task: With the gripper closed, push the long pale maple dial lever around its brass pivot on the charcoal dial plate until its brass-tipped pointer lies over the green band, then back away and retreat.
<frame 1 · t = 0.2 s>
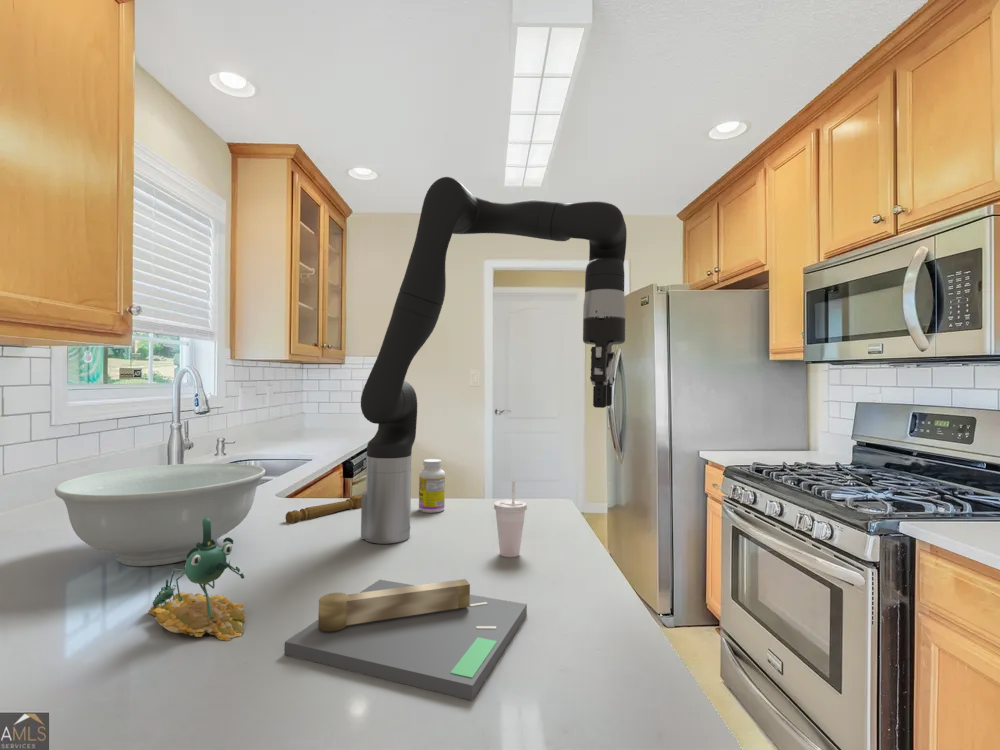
hand: (602, 406, 88), 29 cm above the counter, fingers open, 8 cm apart
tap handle: (343, 512, 124), on the counter
bowl: (168, 553, 91), on the counter
dial lever: (397, 602, 64), point 3 cm above the counter, hinge at 40.0°
supplement bottle: (431, 511, 126), on the counter
dial plate: (416, 633, 63), on the counter
smoothie: (509, 555, 93), on the counter
green cartoon bug figurine: (200, 621, 66), on the counter
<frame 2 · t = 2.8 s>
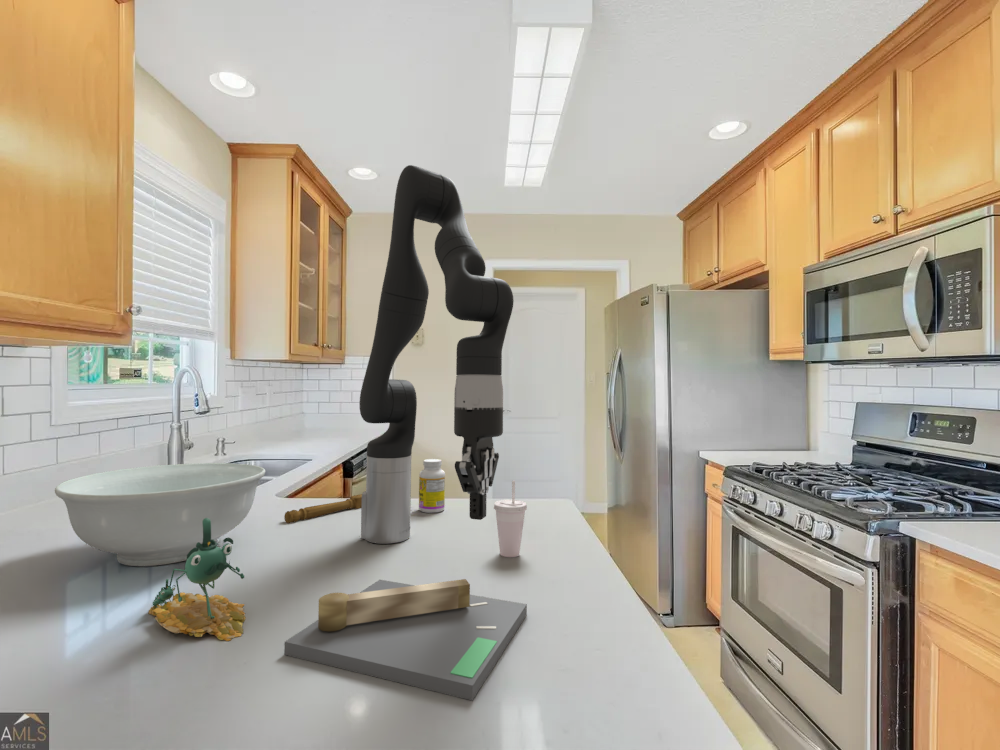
hand: (477, 518, 75), 12 cm above the counter, fingers closed
nothing on the counter moved.
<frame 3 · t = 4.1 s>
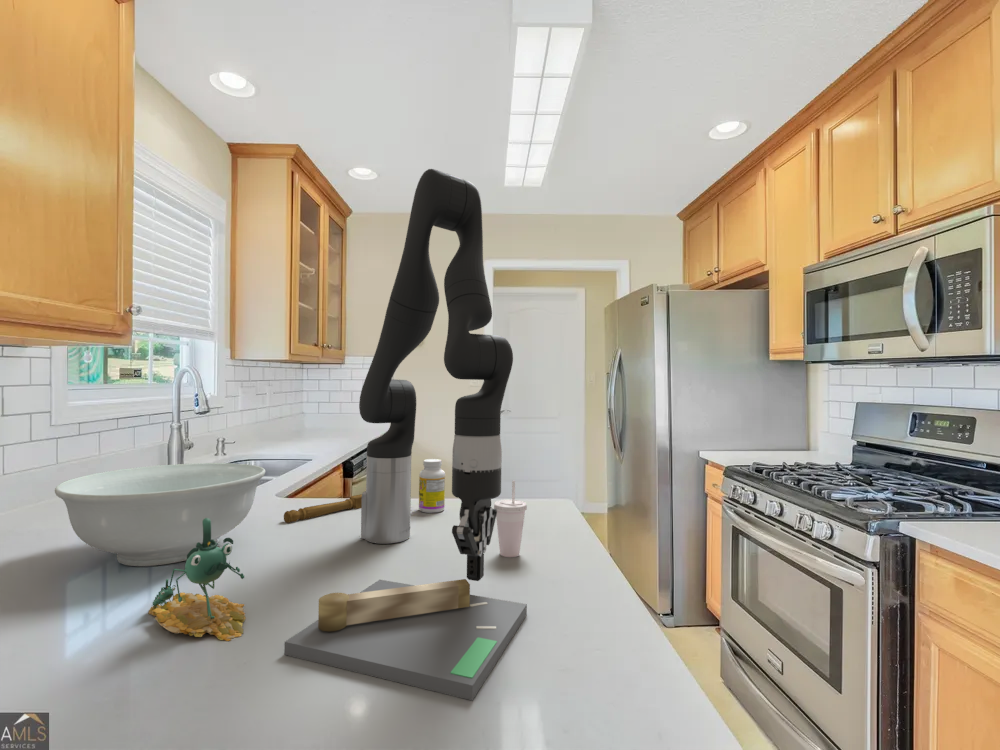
hand: (475, 578, 74), 3 cm above the counter, fingers closed
nothing on the counter moved.
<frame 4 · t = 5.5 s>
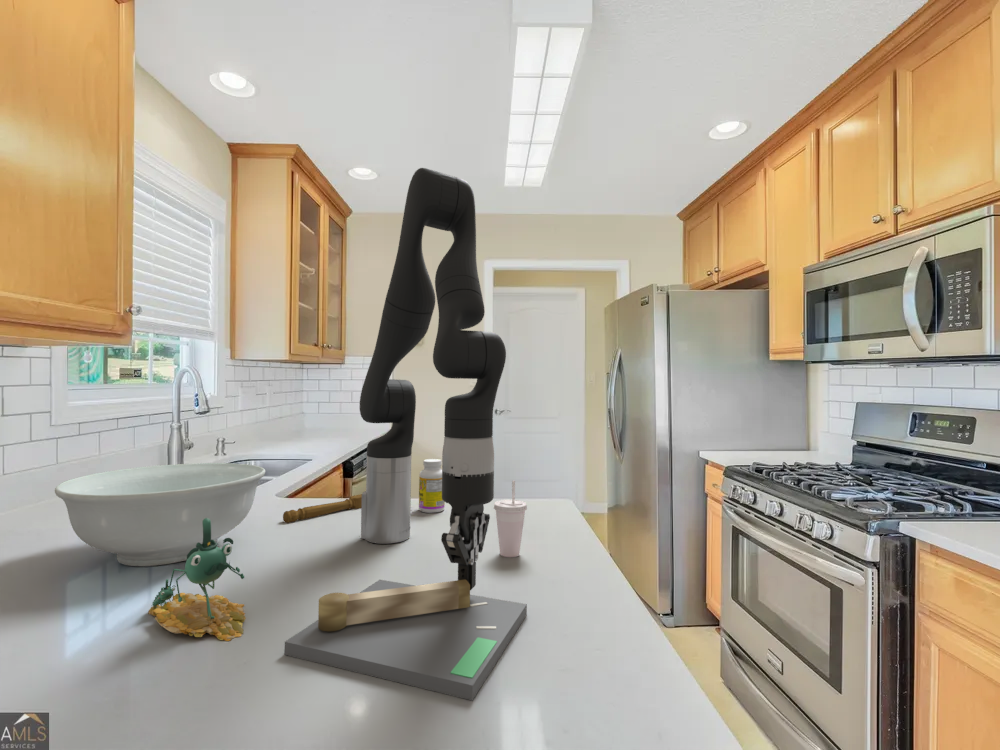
hand: (466, 588, 70), 3 cm above the counter, fingers closed
dial lever: (397, 602, 64), point 3 cm above the counter, hinge at 39.5°, touching gripper
everything else where it was.
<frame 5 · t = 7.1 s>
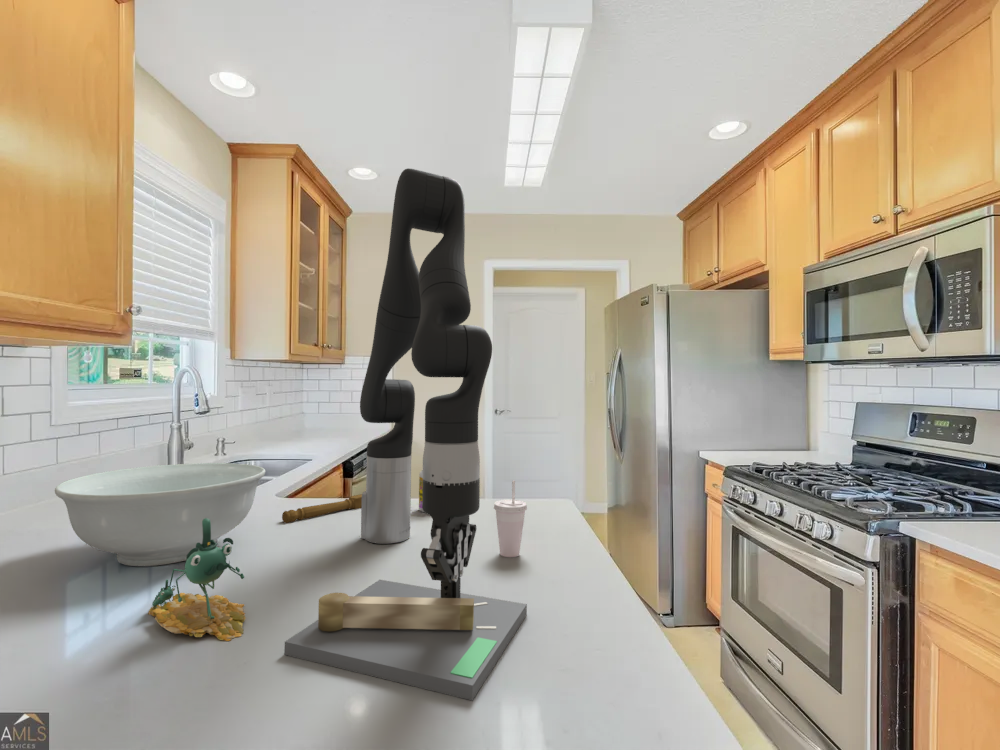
hand: (450, 606, 64), 3 cm above the counter, fingers closed
dial lever: (396, 612, 61), point 3 cm above the counter, hinge at 18.9°, touching gripper
everything else where it was.
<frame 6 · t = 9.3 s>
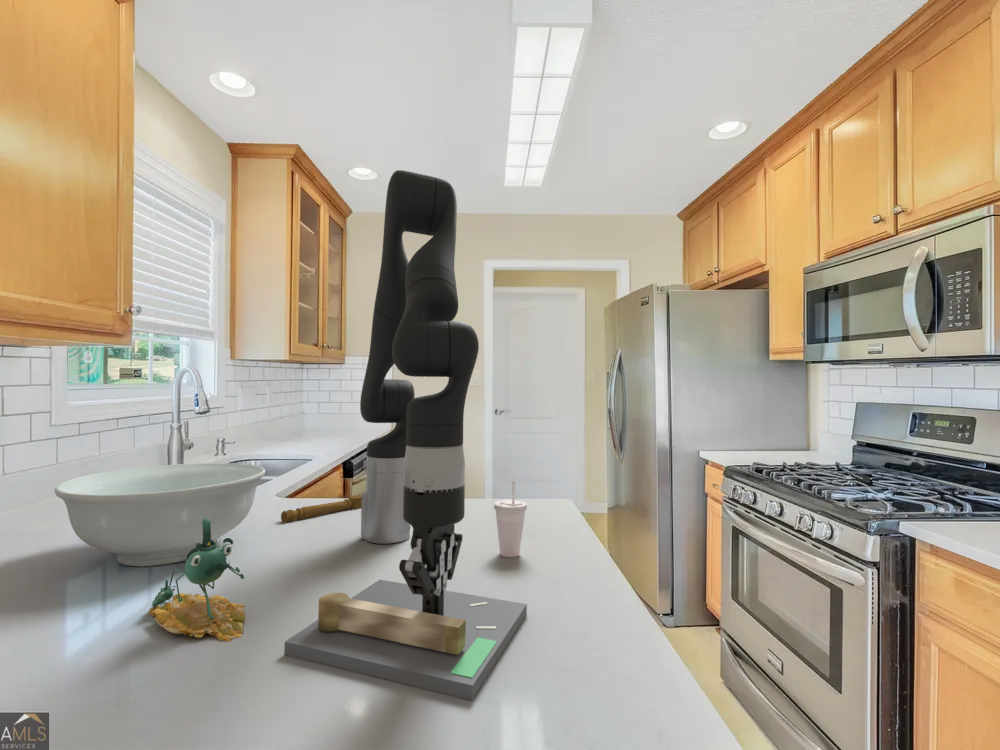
hand: (432, 622, 60), 3 cm above the counter, fingers closed
dial lever: (388, 622, 59), point 3 cm above the counter, hinge at -0.1°, touching gripper
everything else where it was.
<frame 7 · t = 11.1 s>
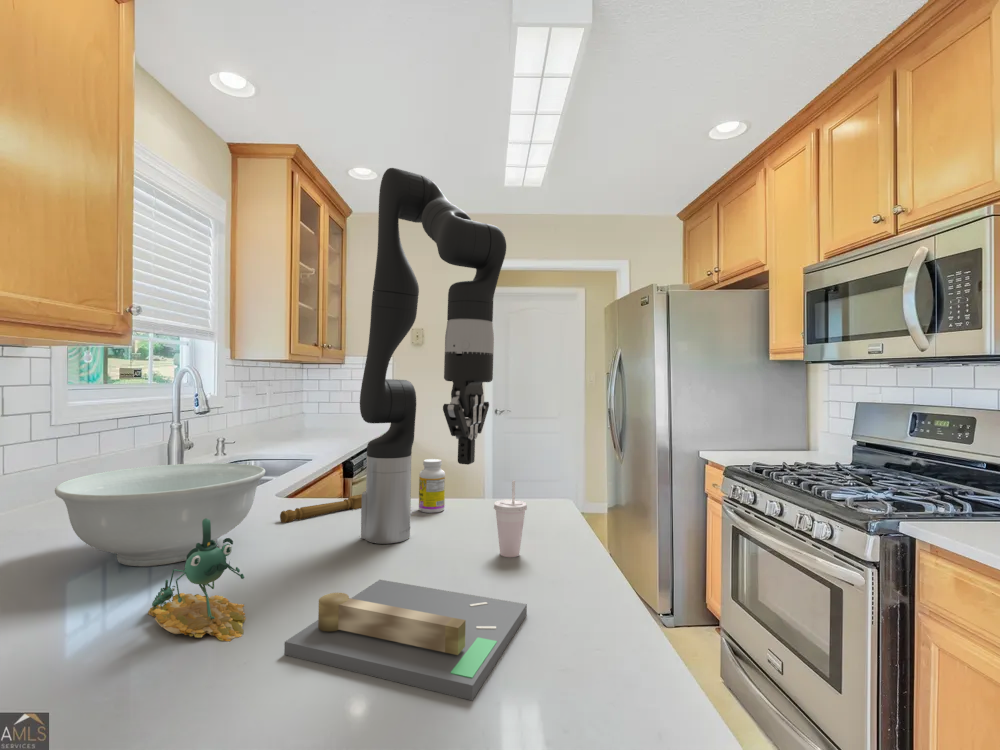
hand: (465, 463, 75), 20 cm above the counter, fingers closed
dial lever: (388, 622, 59), point 3 cm above the counter, hinge at -0.2°
everything else where it was.
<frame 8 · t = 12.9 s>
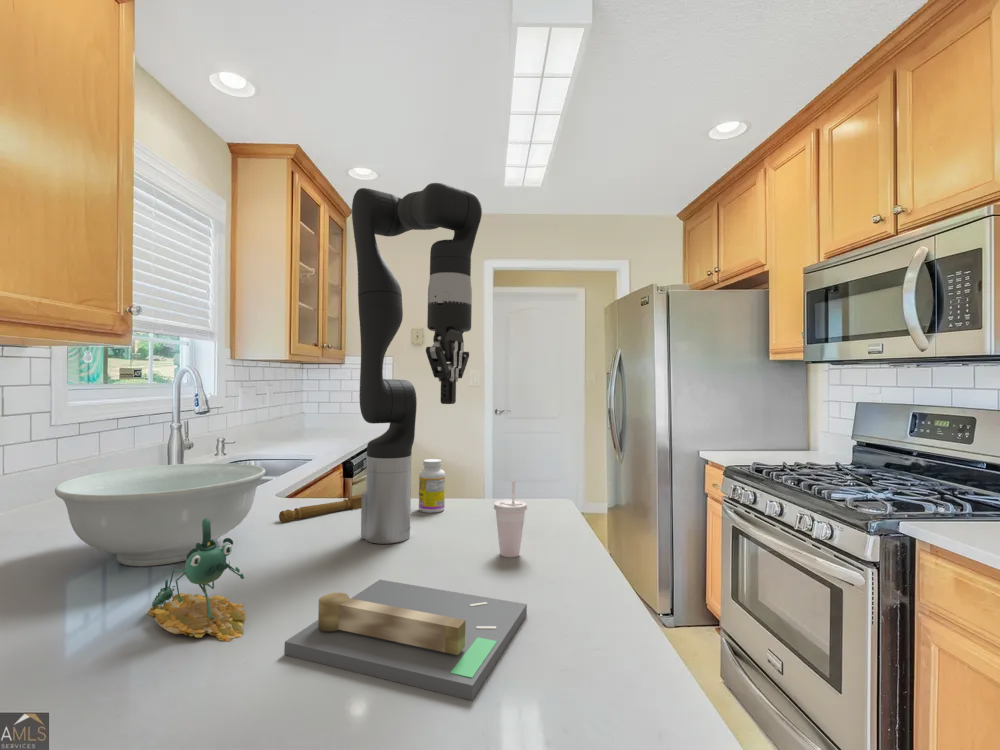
hand: (448, 403, 83), 29 cm above the counter, fingers closed
nothing on the counter moved.
at the end: dial lever at +0° (first picture: +40°) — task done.
